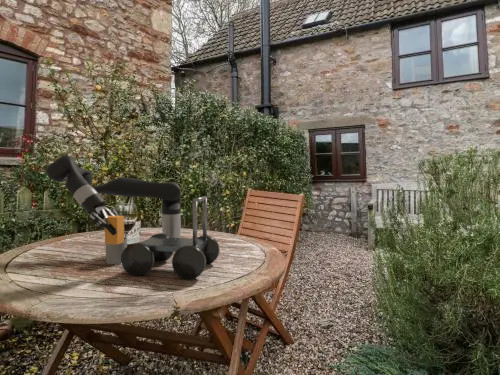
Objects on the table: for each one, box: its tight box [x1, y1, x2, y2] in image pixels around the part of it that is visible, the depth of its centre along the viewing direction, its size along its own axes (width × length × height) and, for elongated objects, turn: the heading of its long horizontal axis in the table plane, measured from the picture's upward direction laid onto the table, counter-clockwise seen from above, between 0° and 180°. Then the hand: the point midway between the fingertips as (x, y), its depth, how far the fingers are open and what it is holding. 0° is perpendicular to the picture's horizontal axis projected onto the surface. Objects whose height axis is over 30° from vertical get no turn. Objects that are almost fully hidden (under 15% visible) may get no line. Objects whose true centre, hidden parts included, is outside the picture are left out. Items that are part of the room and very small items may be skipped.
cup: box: [105, 236, 128, 265], centre depth 137 cm, size 8×8×10 cm
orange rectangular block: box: [104, 215, 125, 245], centre depth 121 cm, size 5×4×10 cm
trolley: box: [121, 195, 221, 281], centre depth 127 cm, size 32×21×29 cm
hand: (119, 232), depth 121 cm, fingers closed on orange rectangular block, 4 cm apart
